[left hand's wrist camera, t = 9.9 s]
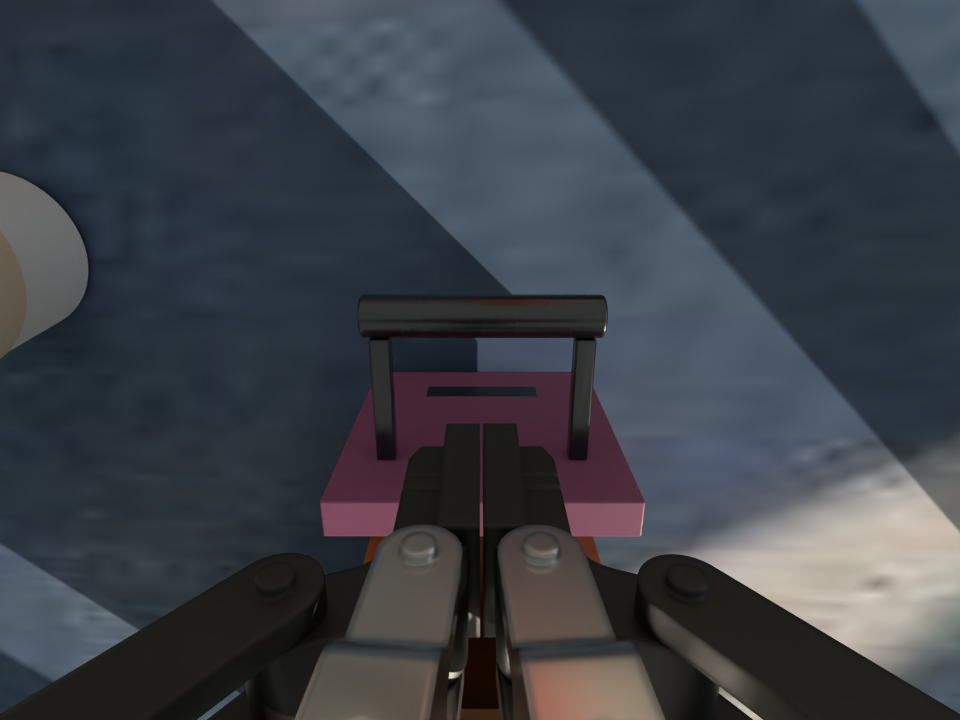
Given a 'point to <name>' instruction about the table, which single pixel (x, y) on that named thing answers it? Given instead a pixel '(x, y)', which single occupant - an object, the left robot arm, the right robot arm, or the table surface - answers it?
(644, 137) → the table surface
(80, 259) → the coffee cup
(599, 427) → the drawer
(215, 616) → the left robot arm
